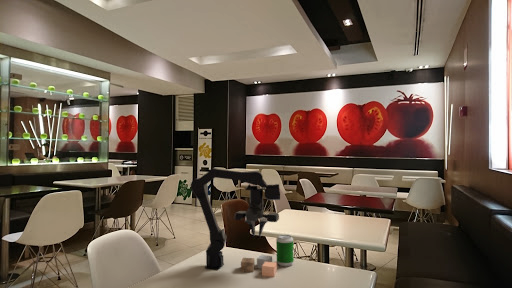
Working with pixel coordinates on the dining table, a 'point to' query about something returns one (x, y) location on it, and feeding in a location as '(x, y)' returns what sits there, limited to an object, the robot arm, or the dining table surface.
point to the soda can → (285, 250)
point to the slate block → (263, 260)
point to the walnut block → (247, 265)
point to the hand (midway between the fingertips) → (256, 236)
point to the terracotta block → (269, 269)
